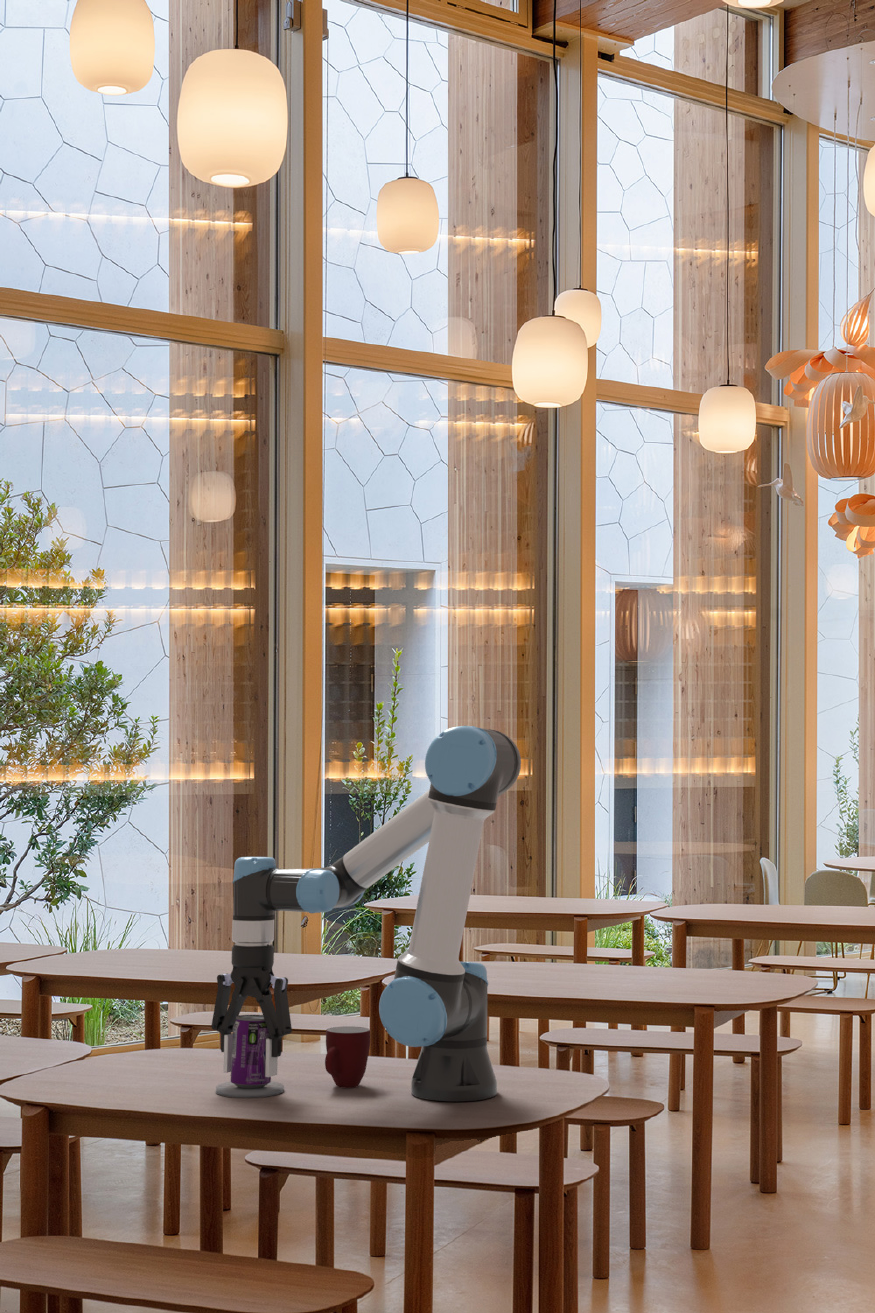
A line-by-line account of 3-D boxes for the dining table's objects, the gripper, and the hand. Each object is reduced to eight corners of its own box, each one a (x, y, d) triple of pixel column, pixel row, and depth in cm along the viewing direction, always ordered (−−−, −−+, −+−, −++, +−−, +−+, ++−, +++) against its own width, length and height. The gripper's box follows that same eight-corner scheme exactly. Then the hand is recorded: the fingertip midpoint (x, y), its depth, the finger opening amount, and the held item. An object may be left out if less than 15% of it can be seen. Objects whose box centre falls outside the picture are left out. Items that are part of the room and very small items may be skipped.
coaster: (296, 1088, 250) (296, 1084, 251) (259, 1100, 240) (259, 1095, 240) (240, 1082, 256) (240, 1078, 256) (202, 1094, 245) (202, 1089, 245)
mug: (351, 1094, 246) (352, 1036, 247) (310, 1090, 249) (311, 1033, 250) (377, 1084, 255) (377, 1028, 256) (337, 1080, 258) (338, 1025, 259)
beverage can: (259, 1091, 243) (262, 1020, 245) (223, 1087, 246) (226, 1017, 247) (277, 1084, 250) (280, 1016, 252) (241, 1081, 252) (244, 1013, 254)
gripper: (314, 944, 249) (311, 1075, 247) (216, 939, 259) (213, 1065, 256) (291, 948, 243) (289, 1082, 240) (192, 942, 252) (189, 1072, 249)
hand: (250, 1073), depth 248 cm, fingers open, 8 cm apart
